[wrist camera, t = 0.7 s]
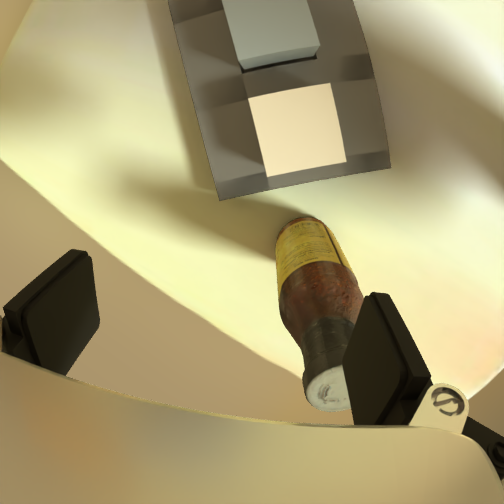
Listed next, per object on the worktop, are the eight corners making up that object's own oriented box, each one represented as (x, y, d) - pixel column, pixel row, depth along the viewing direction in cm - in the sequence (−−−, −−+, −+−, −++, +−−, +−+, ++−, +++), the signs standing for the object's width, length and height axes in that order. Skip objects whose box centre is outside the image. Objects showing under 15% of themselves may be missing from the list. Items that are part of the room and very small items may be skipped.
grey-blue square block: (296, -3, 21) (299, -22, 17) (313, 56, 23) (320, 45, 19) (228, 10, 22) (219, -7, 18) (244, 69, 24) (238, 60, 20)
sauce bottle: (264, 251, 34) (249, 400, 16) (297, 202, 32) (322, 323, 14) (314, 281, 35) (341, 434, 17) (349, 236, 33) (416, 371, 15)
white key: (321, 88, 24) (330, 82, 20) (335, 155, 26) (346, 161, 22) (252, 101, 25) (248, 98, 21) (268, 167, 27) (267, 176, 23)
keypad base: (312, -75, 19) (315, -88, 16) (381, 163, 29) (391, 168, 27) (164, -44, 21) (154, -55, 19) (224, 193, 32) (219, 201, 29)
